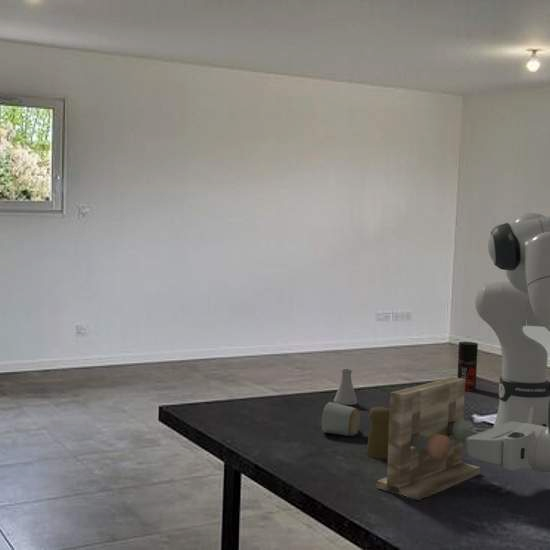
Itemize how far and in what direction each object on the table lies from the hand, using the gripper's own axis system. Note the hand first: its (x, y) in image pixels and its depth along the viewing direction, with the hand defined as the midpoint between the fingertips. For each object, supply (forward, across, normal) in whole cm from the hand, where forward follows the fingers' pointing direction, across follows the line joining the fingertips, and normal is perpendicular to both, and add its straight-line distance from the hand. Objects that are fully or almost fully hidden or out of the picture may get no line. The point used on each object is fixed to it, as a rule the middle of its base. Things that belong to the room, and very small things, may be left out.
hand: (468, 432), depth 168 cm
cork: (+23, 0, +10) cm, 25 cm away
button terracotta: (+1, +14, +2) cm, 14 cm away
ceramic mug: (+40, -9, +10) cm, 42 cm away
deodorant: (+46, -81, +10) cm, 94 cm away
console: (+4, +7, +10) cm, 13 cm away
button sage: (+4, 0, +2) cm, 4 cm away
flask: (+60, -35, +10) cm, 70 cm away
